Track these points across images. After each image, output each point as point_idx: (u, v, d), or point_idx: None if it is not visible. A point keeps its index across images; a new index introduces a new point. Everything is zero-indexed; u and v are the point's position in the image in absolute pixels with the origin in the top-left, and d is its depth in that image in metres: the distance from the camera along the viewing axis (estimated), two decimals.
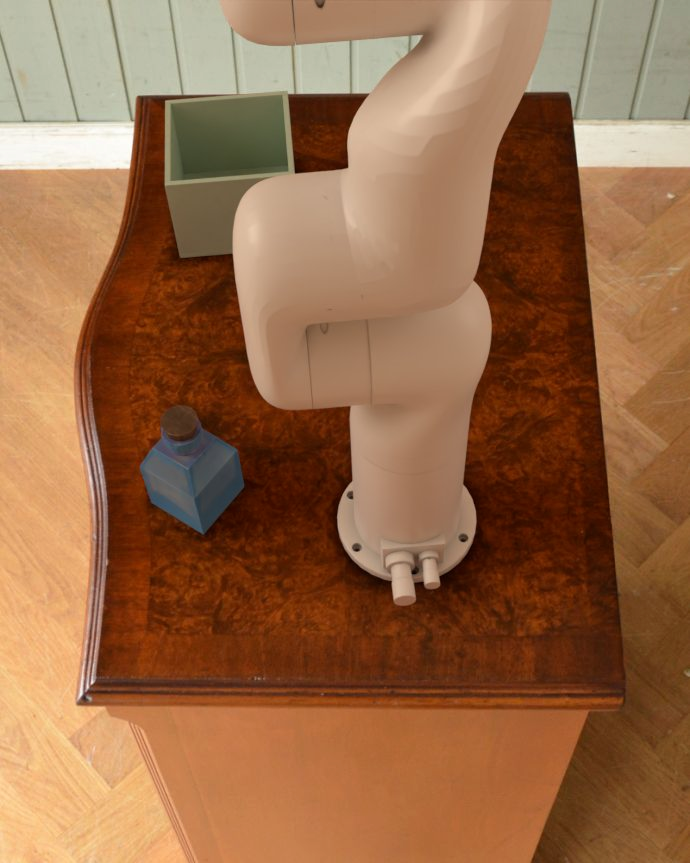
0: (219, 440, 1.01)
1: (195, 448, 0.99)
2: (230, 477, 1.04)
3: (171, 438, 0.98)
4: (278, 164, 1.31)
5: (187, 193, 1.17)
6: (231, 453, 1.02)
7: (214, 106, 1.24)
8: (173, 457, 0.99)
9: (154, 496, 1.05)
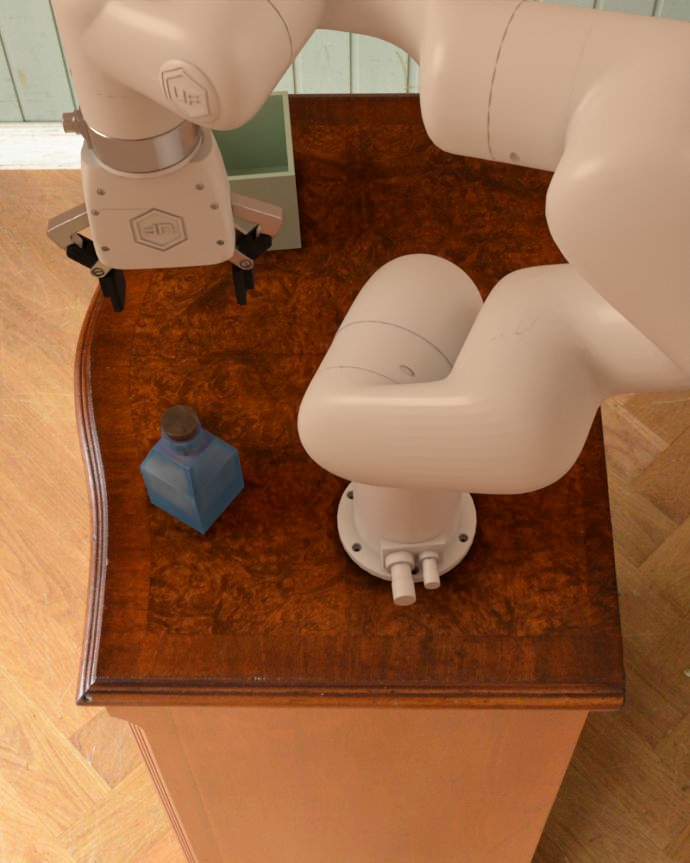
0: (219, 440, 1.01)
1: (195, 448, 0.99)
2: (230, 477, 1.04)
3: (171, 438, 0.98)
4: (278, 164, 1.31)
5: None
6: (231, 453, 1.02)
7: None
8: (173, 457, 0.99)
9: (154, 496, 1.05)
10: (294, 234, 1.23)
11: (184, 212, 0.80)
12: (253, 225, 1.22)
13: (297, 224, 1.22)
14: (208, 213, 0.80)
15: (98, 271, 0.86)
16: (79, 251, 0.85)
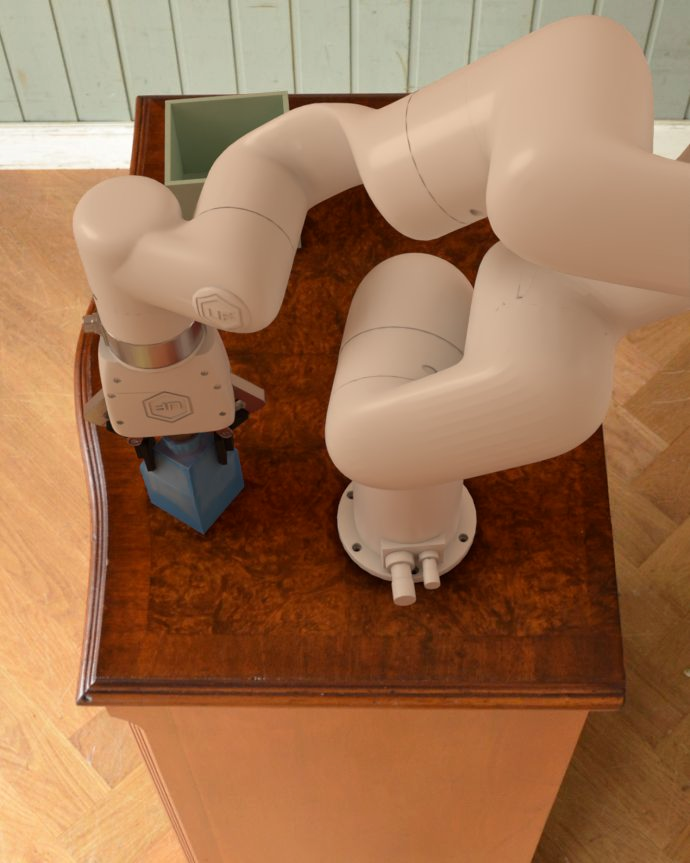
0: None
1: (195, 448, 0.99)
2: (230, 477, 1.04)
3: (171, 438, 0.98)
4: None
5: (187, 193, 1.17)
6: (231, 453, 1.02)
7: (214, 106, 1.24)
8: (173, 457, 0.99)
9: (154, 496, 1.05)
10: None
11: (190, 393, 0.90)
12: None
13: None
14: (212, 392, 0.90)
15: (134, 441, 0.97)
16: None
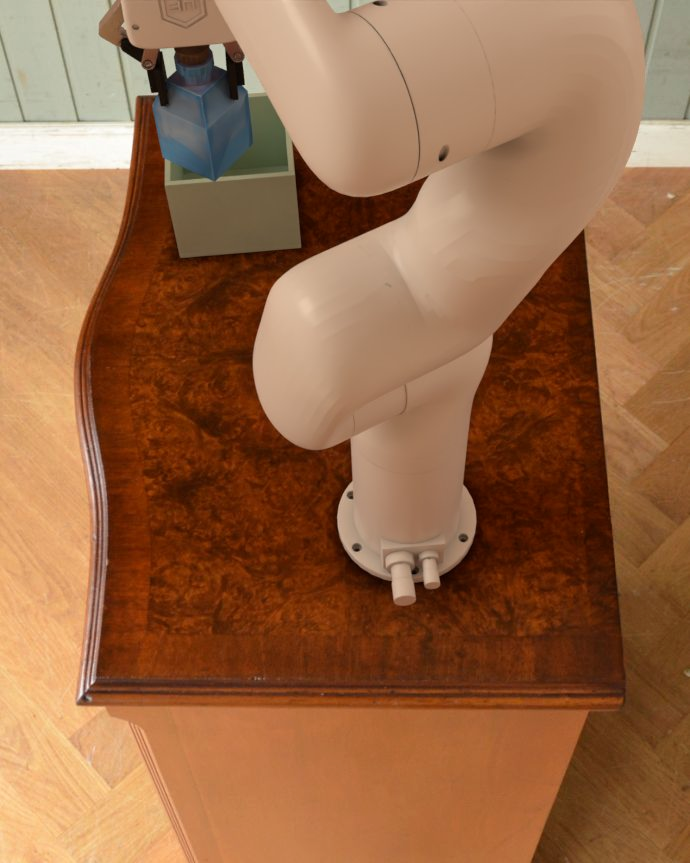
0: None
1: (207, 78, 1.01)
2: (240, 123, 1.06)
3: (184, 62, 1.00)
4: (278, 164, 1.31)
5: (187, 193, 1.17)
6: (242, 92, 1.04)
7: None
8: (185, 87, 1.01)
9: (166, 145, 1.07)
10: (294, 234, 1.23)
11: None
12: (253, 225, 1.22)
13: (297, 224, 1.22)
14: None
15: (148, 63, 0.99)
16: (132, 44, 0.98)
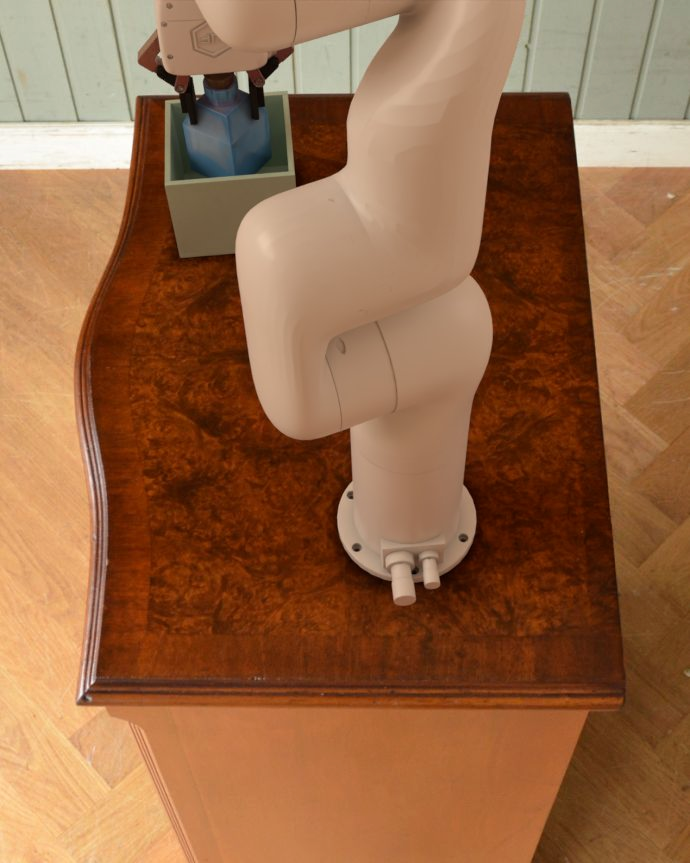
0: None
1: (232, 100, 1.15)
2: (260, 140, 1.20)
3: (212, 86, 1.13)
4: (278, 164, 1.31)
5: (187, 193, 1.17)
6: (262, 113, 1.18)
7: None
8: (213, 108, 1.15)
9: (194, 159, 1.21)
10: None
11: None
12: None
13: None
14: None
15: (180, 88, 1.13)
16: (166, 71, 1.12)
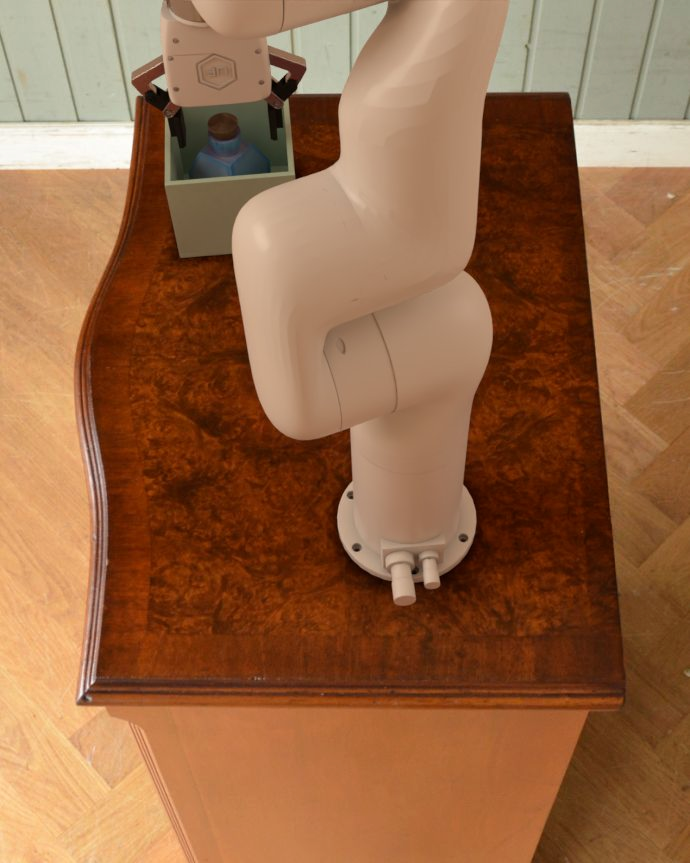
0: (255, 147, 1.21)
1: (235, 150, 1.20)
2: None
3: (216, 137, 1.18)
4: (278, 164, 1.31)
5: (187, 193, 1.17)
6: (264, 161, 1.23)
7: (214, 106, 1.24)
8: (217, 158, 1.20)
9: None
10: None
11: (236, 56, 1.08)
12: None
13: None
14: (253, 57, 1.09)
15: (168, 112, 1.15)
16: (155, 96, 1.14)
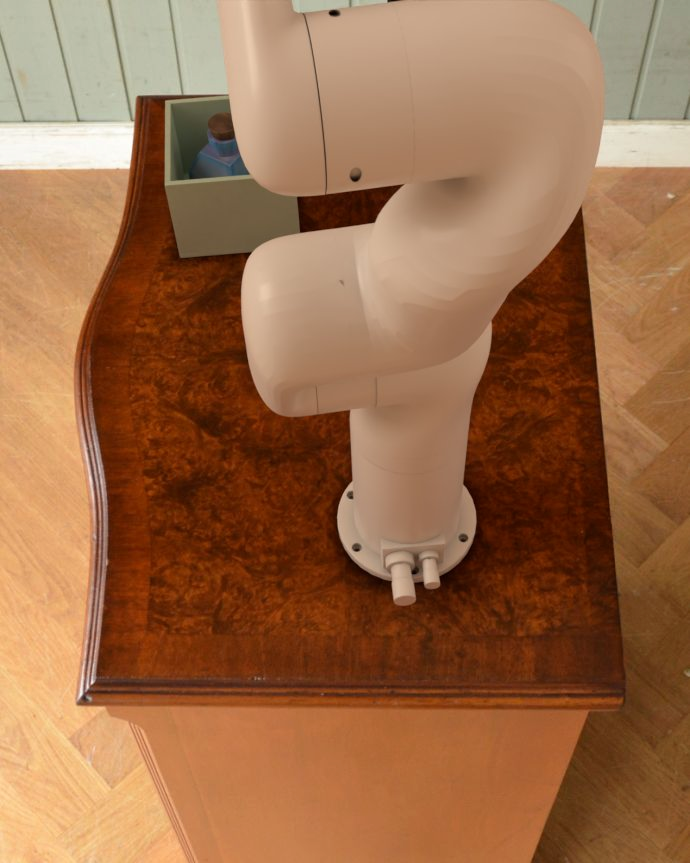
0: None
1: (235, 150, 1.20)
2: None
3: (216, 137, 1.18)
4: None
5: (187, 193, 1.17)
6: None
7: (214, 106, 1.24)
8: (217, 158, 1.20)
9: None
10: None
11: None
12: (253, 225, 1.22)
13: (297, 224, 1.22)
14: None
15: None
16: None
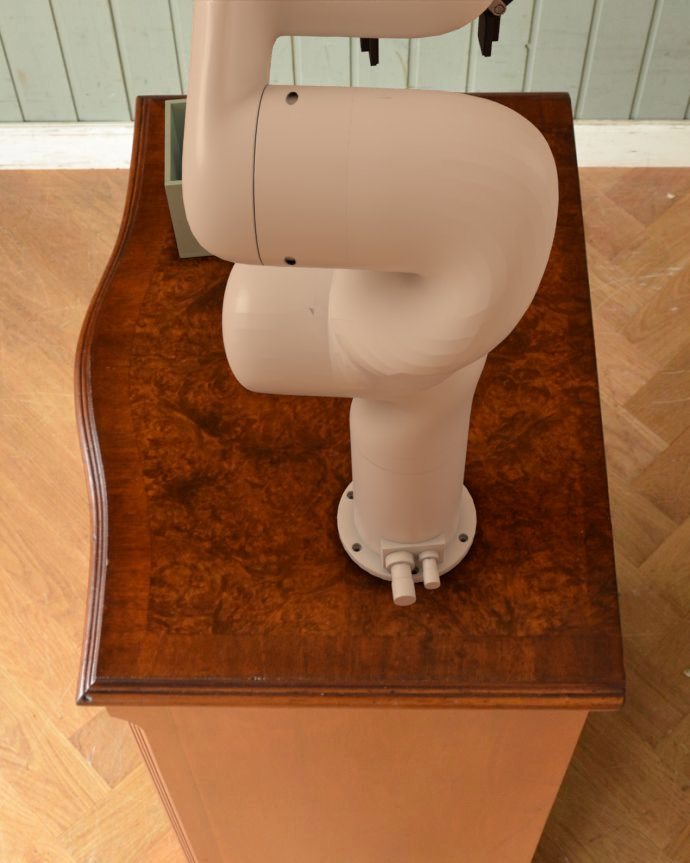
0: None
1: None
2: None
3: None
4: None
5: None
6: None
7: None
8: None
9: None
10: None
11: None
12: None
13: None
14: None
15: None
16: None
